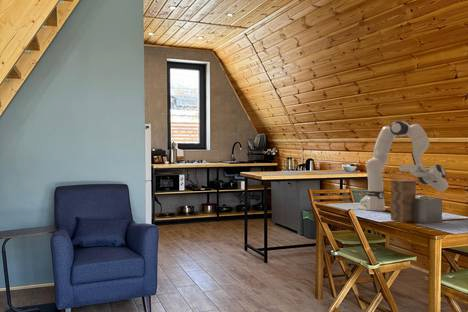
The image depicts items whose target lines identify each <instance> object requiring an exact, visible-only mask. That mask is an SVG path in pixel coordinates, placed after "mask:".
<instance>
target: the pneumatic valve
mask: <svg viewBox="0 0 468 312" xmlns="http://www.w3.org/2000/svg"><path fill="white" fill-rule="evenodd" d="M422 197H427V196H425V195H422V194H416V198H422Z"/></svg>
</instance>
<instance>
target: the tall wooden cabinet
mask: <svg viewBox="0 0 468 312" xmlns="http://www.w3.org/2000/svg"><path fill="white" fill-rule="evenodd" d="M389 181H390V190H391V191H390V220H391V221H396V222H401V223H406V222H407V221H408V222H413V198H416V195H417V194H416V193H417V191H416V189H417V187H416V185H417V183H416V182H417V180H414V179H390V180H389ZM408 222H407V223H408Z"/></svg>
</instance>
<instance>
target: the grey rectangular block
mask: <svg viewBox="0 0 468 312" xmlns="http://www.w3.org/2000/svg"><path fill="white" fill-rule="evenodd" d="M419 166H422V167H423V168H426V169H427V165H426V164H422V165H414V164H407V165H406V164H405V165H402V164H401V165H398V171H399V172H410V171H420V169H419Z"/></svg>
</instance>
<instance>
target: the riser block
mask: <svg viewBox="0 0 468 312" xmlns="http://www.w3.org/2000/svg"><path fill="white" fill-rule="evenodd" d="M413 221H414V222H413ZM413 221H412V222H413V223H419V224H424V225H428V224H429V225H430V224H439V223H443V198H442V197H441V198H439V197H431V196H426V197H422V198H413Z"/></svg>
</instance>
